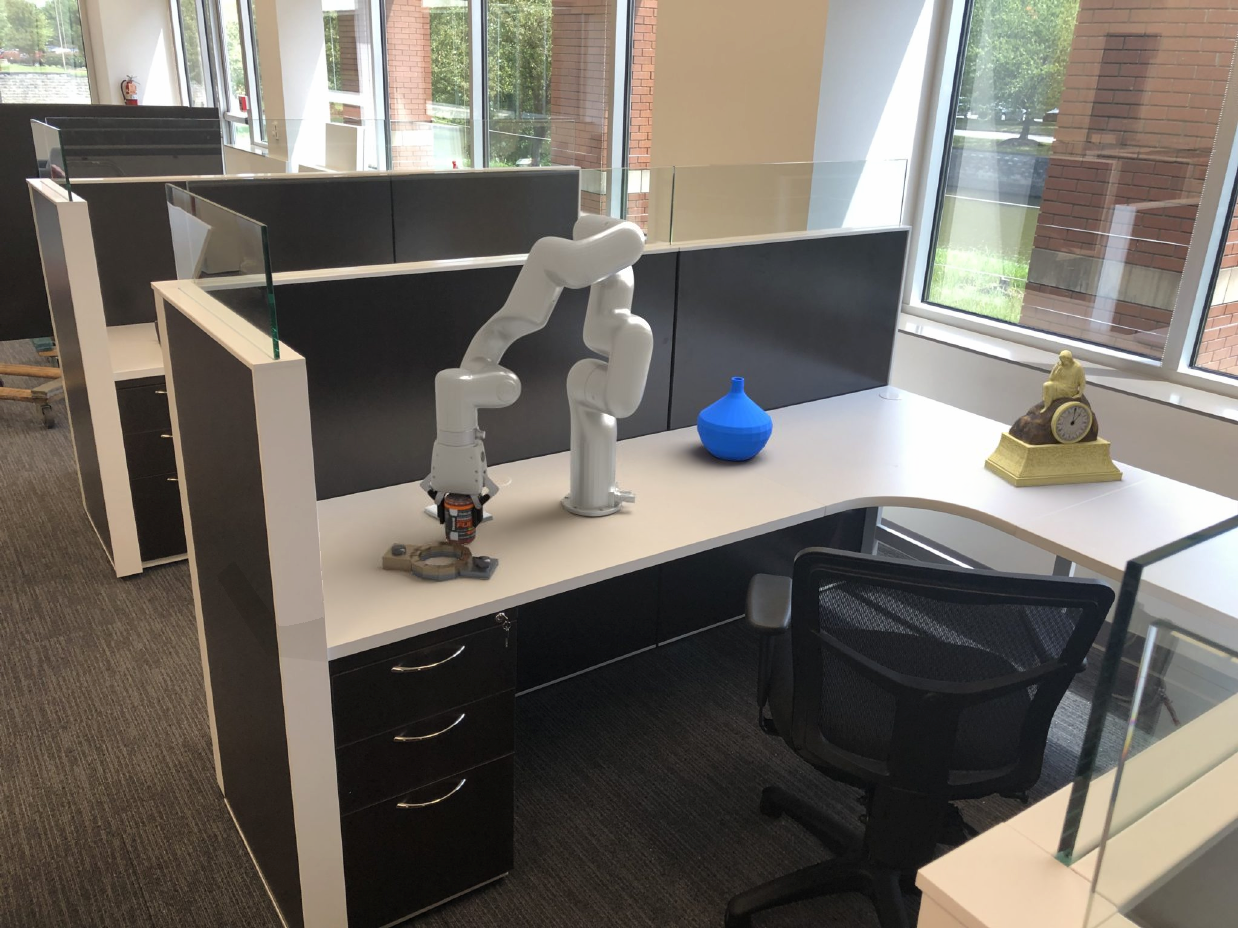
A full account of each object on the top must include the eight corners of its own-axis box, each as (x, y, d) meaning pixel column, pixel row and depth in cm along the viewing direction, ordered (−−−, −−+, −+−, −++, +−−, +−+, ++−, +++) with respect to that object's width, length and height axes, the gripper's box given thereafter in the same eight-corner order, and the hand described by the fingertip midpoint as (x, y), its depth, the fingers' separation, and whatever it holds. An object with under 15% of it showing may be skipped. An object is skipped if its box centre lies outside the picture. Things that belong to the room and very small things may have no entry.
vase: (748, 438, 249) (753, 366, 243) (783, 462, 233) (790, 386, 227) (683, 445, 243) (687, 371, 236) (715, 470, 227) (720, 392, 220)
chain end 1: (478, 556, 182) (478, 541, 181) (460, 583, 172) (460, 568, 171) (399, 548, 184) (398, 534, 183) (377, 574, 174) (376, 559, 173)
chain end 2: (502, 558, 181) (501, 546, 180) (485, 585, 171) (485, 573, 170) (422, 550, 183) (421, 539, 182) (401, 577, 173) (400, 565, 172)
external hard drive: (460, 533, 193) (424, 514, 201) (493, 521, 198) (457, 503, 206) (460, 525, 192) (424, 506, 200) (493, 514, 198) (456, 496, 206)
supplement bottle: (458, 548, 185) (456, 493, 181) (439, 539, 188) (436, 485, 184) (482, 539, 189) (481, 485, 185) (463, 530, 193) (461, 477, 189)
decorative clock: (1015, 487, 223) (1039, 360, 212) (984, 467, 235) (1005, 346, 224) (1120, 480, 229) (1149, 357, 218) (1085, 461, 241) (1110, 343, 230)
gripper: (507, 432, 183) (508, 519, 190) (420, 425, 186) (424, 511, 192) (496, 445, 176) (498, 535, 183) (406, 438, 179) (410, 527, 185)
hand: (460, 522), depth 187 cm, fingers closed on supplement bottle, 6 cm apart
